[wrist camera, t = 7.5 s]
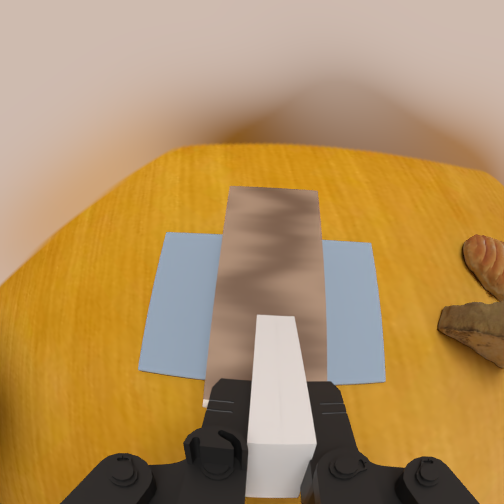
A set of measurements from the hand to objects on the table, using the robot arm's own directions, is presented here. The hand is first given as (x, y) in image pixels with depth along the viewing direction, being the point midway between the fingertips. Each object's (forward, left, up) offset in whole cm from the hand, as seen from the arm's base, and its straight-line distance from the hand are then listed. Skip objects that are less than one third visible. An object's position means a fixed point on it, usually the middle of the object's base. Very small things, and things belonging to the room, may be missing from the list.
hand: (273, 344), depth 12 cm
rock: (+20, +2, -9) cm, 22 cm away
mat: (0, +5, -9) cm, 10 cm away
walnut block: (0, -3, -6) cm, 6 cm away
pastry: (+24, +9, -10) cm, 28 cm away
